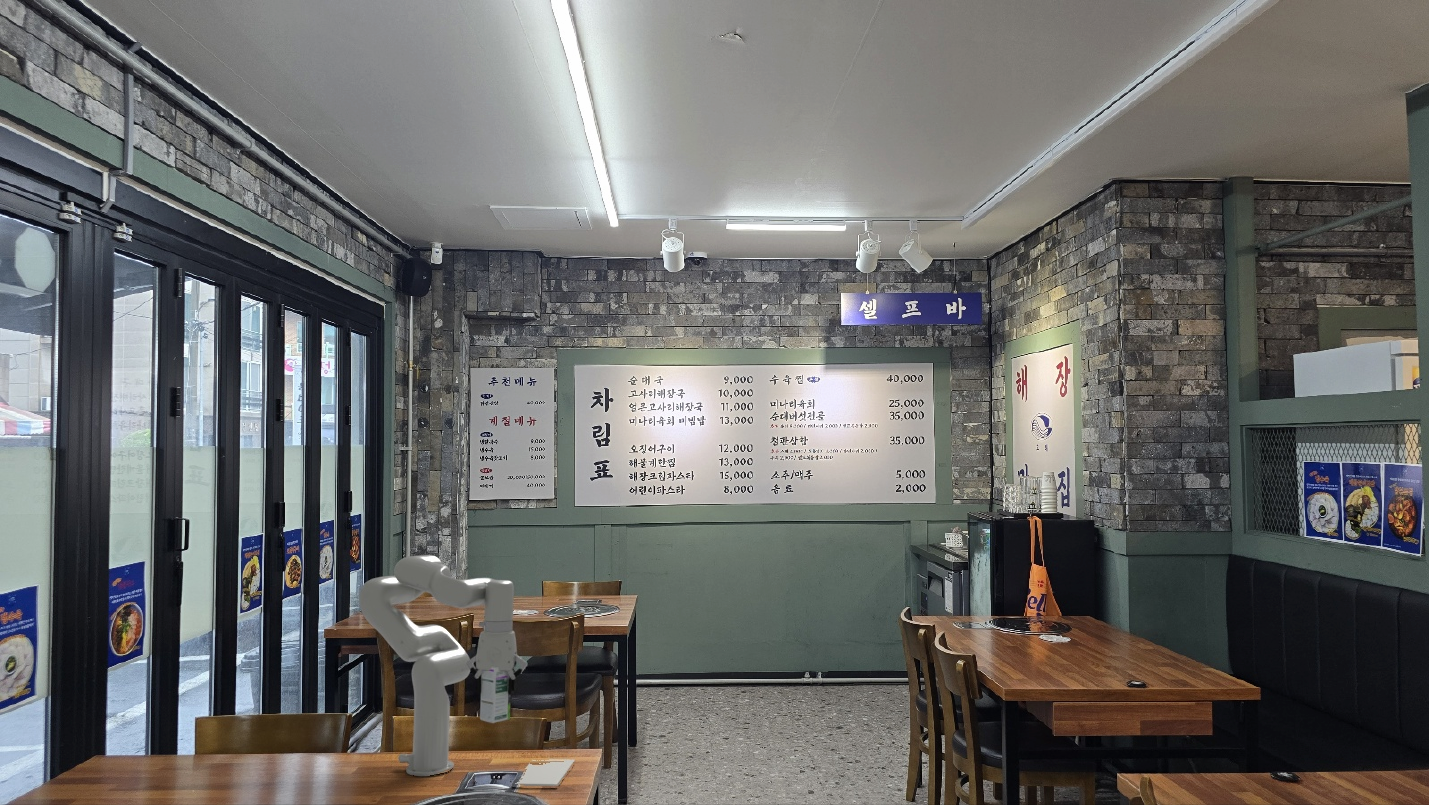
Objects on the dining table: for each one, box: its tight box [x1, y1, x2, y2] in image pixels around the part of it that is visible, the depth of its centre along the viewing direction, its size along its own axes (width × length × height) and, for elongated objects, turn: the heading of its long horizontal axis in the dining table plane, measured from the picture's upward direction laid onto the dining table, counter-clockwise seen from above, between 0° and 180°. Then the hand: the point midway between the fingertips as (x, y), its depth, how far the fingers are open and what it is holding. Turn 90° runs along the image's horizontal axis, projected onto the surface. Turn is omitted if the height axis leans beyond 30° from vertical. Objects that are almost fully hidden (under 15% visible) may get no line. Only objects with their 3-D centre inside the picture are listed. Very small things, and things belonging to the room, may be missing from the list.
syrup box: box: [479, 667, 512, 724], centre depth 238 cm, size 6×6×14 cm
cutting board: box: [515, 758, 576, 786], centre depth 241 cm, size 12×22×1 cm, turn 177°
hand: (495, 693), depth 238 cm, fingers closed on syrup box, 7 cm apart
